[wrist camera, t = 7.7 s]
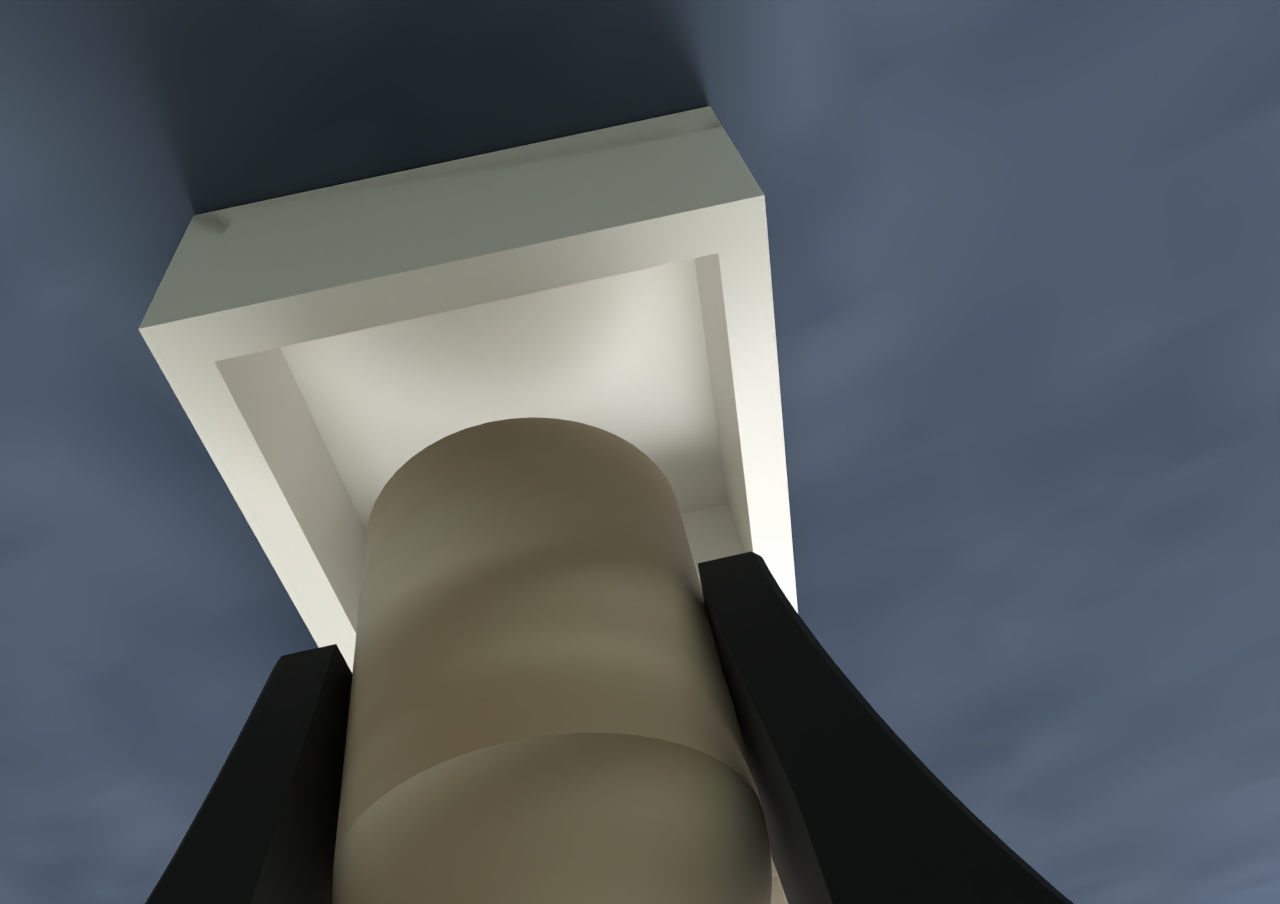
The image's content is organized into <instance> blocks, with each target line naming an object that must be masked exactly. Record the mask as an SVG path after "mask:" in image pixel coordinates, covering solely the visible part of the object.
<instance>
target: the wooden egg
mask: <svg viewBox="0 0 1280 904" xmlns="http://www.w3.org/2000/svg"><path fill="white" fill-rule="evenodd" d="M771 895H772V864H771V848H770V841H769V836H768V831H767V826H766V821H765V817H764V813H763V809H762V805H761V802H760V798H759V795H758V791H757V787H756V784H755V780H754V777H753V773H752V769H751V766H750V762H749V759H748V755H747V751H746V748H745V744H744V741H743V737H742V733H741V730H740V726H739V723H738V719H737V715H736V712H735V708H734V705H733V701H732V697H731V694H730V691H729V688H728V685H727V682H726V679H725V676H724V673H723V669H722V666H721V662H720V658H719V655H718V651H717V648H716V644H715V640H714V637H713V633H712V630H711V626H710V622H709V619H708V615H707V611H706V608H705V604H704V599H703V593H702V590H701V586H700V582H699V579H698V575H697V572H696V568H695V564H694V561H693V557H692V554H691V550H690V546H689V543H688V539H687V536H686V532H685V528H684V525H683V521H682V518H681V514H680V510H679V507H678V503H677V500H676V496H675V494H674V492H673V490H672V487H671V485H670V483H669V481H668V480H667V478H666V477H665V476H664V474H663V473H662V471H661V470H660V468H659V467H658V466H657V465H656V464H655V463H654V462H653V461H652V460H651V459H650V458H649V457H648V456H647V455H646V454H644V453H643V452H642V451H641V450H639V449H638V448H637V447H635V446H634V445H633V444H631V443H629V442H627V441H626V440H624V439H622V438H620V437H619V436H617V435H615V434H612V433H610V432H607V431H605V430H603V429H600V428H598V427H594V426H590V425H587V424H583V423H580V422H575V421H569V420H563V419H556V418H538V417H530V418H512V419H505V420H499V421H493V422H487V423H484V424H480V425H476V426H473V427H469V428H466V429H463V430H461V431H458V432H456V433H453V434H451V435H448V436H446V437H444V438H442V439H440V440H438V441H436V442H435V443H433V444H431V445H429V446H427V447H426V448H424V449H423V450H421V451H420V452H419V453H417V454H416V455H414V456H413V457H412V458H410V459H409V460H408V461H407V462H406V463H405V464H404V465H403V466H402V467H400V468H399V469H398V470H397V471H396V472H395V473H394V475H393V476H392V477H391V478H390V480H389V481H388V482H387V483H386V484H385V486H384V487H383V489H382V491H381V492H380V494H379V496H378V498H377V499H376V501H375V503H374V506H373V509H372V511H371V514H370V517H369V521H368V527H367V532H366V541H365V551H364V561H363V572H362V582H361V592H360V602H359V612H358V622H357V632H356V643H355V653H354V663H353V673H352V683H351V693H350V703H349V714H348V724H347V734H346V744H345V754H344V764H343V775H342V785H341V795H340V805H339V815H338V825H337V835H336V846H335V856H334V866H333V894H332V902H333V904H771Z"/></svg>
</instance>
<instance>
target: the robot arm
mask: <svg viewBox="0 0 1280 904" xmlns="http://www.w3.org/2000/svg"><path fill="white" fill-rule="evenodd" d="M698 569H699V575H700V581H701V587H702V593H703V599H704V604H705V608H706V611H707V615H708V619H709V622H710V626H711V630H712V633H713V637H714V640H715V644H716V648H717V651H718V655H719V658H720V662H721V666H722V669H723V673H724V676H725V679H726V682H727V685H728V688H729V691H730V694H731V697H732V701H733V705H734V708H735V712H736V715H737V719H738V723H739V726H740V730H741V733H742V737H743V741H744V744H745V748H746V751H747V755H748V759H749V762H750V766H751V769H752V773H753V777H754V780H755V784H756V787H757V791H758V795H759V798H760V802H761V805H762V809H763V813H764V817H765V821H766V826H767V831H768V836H769V841H770V848H771V857H772V859H773V862H774V865H775V868H776V871H777V873H778V876H779V879H780V882H781V885H782V887H783V890H784V893H785V896H786V899H787V901H788V904H1073V903H1072V902H1071V901H1070V900H1069V899H1067V898H1066V897H1065V896H1064V895H1062V894H1061V893H1060V892H1059V891H1058V890H1057V889H1055V888H1054V887H1053V886H1052V885H1051V884H1050V883H1049V882H1048V881H1046V880H1045V879H1044V878H1043V877H1042V876H1041V875H1040V874H1039V873H1037V872H1036V871H1035V870H1034V869H1033V868H1032V867H1031V866H1030V865H1028V864H1027V863H1026V862H1025V861H1024V860H1023V859H1022V858H1021V857H1019V856H1018V855H1017V854H1016V853H1015V852H1014V851H1013V850H1012V849H1010V848H1009V847H1008V846H1007V845H1006V844H1005V843H1004V842H1003V841H1002V840H1001V839H1000V838H999V837H998V836H997V835H995V834H994V833H993V832H992V831H991V830H990V829H989V828H988V827H987V826H986V825H985V824H984V823H983V822H982V821H981V820H979V819H978V818H977V817H976V816H975V815H974V814H973V813H972V812H971V811H970V810H969V809H968V808H967V807H966V806H965V805H964V804H963V803H962V802H961V801H960V800H959V799H958V798H957V797H956V796H955V795H954V794H953V793H952V792H951V791H950V790H949V789H948V788H947V787H946V786H945V785H944V784H943V783H942V782H941V781H940V780H939V779H938V778H937V777H936V776H935V775H934V774H933V773H932V772H931V771H930V770H929V769H928V768H927V767H926V766H925V765H924V764H923V763H922V761H921V760H920V759H919V758H918V757H917V756H916V755H915V754H914V753H913V752H912V751H911V750H910V749H909V748H908V747H907V745H906V744H905V743H904V742H903V741H902V740H901V739H900V738H899V737H898V736H897V735H896V734H895V733H894V731H893V730H892V729H891V728H890V727H889V726H888V725H887V724H886V723H885V721H884V720H883V719H882V718H881V717H880V716H879V715H878V714H877V712H876V711H875V710H874V709H873V708H872V707H871V705H870V704H869V703H868V702H867V701H866V699H865V698H864V697H863V696H862V695H861V693H860V692H859V691H858V690H857V689H856V688H855V686H854V685H853V684H852V683H851V682H850V680H849V679H848V678H847V677H846V676H845V674H844V673H843V672H842V671H841V670H840V668H839V667H838V666H837V665H836V664H835V662H834V661H833V660H832V658H831V657H830V656H829V655H828V653H827V652H826V651H825V650H824V648H823V647H822V646H821V644H820V643H819V642H818V640H817V639H816V638H815V636H814V635H813V634H812V632H811V631H810V630H809V628H808V627H807V626H806V624H805V623H804V622H803V620H802V619H801V617H800V616H799V615H798V613H797V612H796V610H795V609H794V607H793V606H792V605H791V603H790V602H789V600H788V599H787V597H786V596H785V594H784V593H783V591H782V590H781V588H780V587H779V585H778V583H777V582H776V580H775V578H774V577H773V575H772V574H771V572H770V570H769V569H768V567H767V565H766V563H765V561H764V559H763V558H762V557H761V556H760V555H758V554H756V553H754V552H752V551H751V552H746V553H742V554H737V555H733V556H728V557H724V558H719V559H715V560H710V561H706V562H701V563H698ZM351 683H352V672H351V670H350V668H349V666H348V665H347V663H346V661H345V659H344V657H343V655H342V654H341V652H340V650H339V648H338V646H337V644H333V645H329V646H324V647H320V648H315V649H311V650H306V651H302V652H297V653H293V654H288V655H284V656H281V658H280V659H279V660H278V662H277V663H276V665H275V667H274V668H273V670H272V672H271V674H270V676H269V678H268V680H267V682H266V684H265V686H264V688H263V690H262V692H261V694H260V696H259V698H258V700H257V702H256V704H255V706H254V708H253V709H252V711H251V713H250V715H249V717H248V719H247V721H246V723H245V725H244V727H243V729H242V731H241V733H240V735H239V737H238V739H237V741H236V743H235V745H234V746H233V748H232V750H231V752H230V754H229V756H228V758H227V760H226V762H225V764H224V765H223V767H222V769H221V771H220V773H219V775H218V777H217V779H216V781H215V782H214V784H213V786H212V788H211V790H210V792H209V793H208V795H207V797H206V799H205V801H204V802H203V804H202V806H201V808H200V810H199V811H198V813H197V815H196V817H195V819H194V820H193V822H192V824H191V826H190V828H189V829H188V831H187V833H186V835H185V837H184V838H183V840H182V842H181V844H180V846H179V847H178V849H177V851H176V853H175V854H174V856H173V858H172V860H171V861H170V863H169V865H168V867H167V868H166V870H165V872H164V873H163V875H162V877H161V878H160V880H159V881H158V883H157V885H156V886H155V888H154V890H153V891H152V893H151V895H150V896H149V898H148V899H147V901H146V903H145V904H333V902H332V894H333V866H334V856H335V846H336V835H337V825H338V815H339V805H340V795H341V785H342V775H343V764H344V754H345V744H346V734H347V724H348V714H349V703H350V693H351Z"/></svg>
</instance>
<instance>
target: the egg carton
mask: <svg viewBox="0 0 1280 904" xmlns="http://www.w3.org/2000/svg"><path fill="white" fill-rule="evenodd" d="M139 331H140V333H141V334H142V336H143V338H144V340H145V341H146V343H147V345H148V347H149V349H150V350H151V352H152V354H153V356H154V357H155V359H156V361H157V363H158V364H159V366H160V368H161V370H162V371H163V373H164V375H165V377H166V379H167V380H168V382H169V384H170V386H171V387H172V389H173V391H174V393H175V394H176V396H177V398H178V400H179V401H180V403H181V405H182V407H183V409H184V410H185V412H186V414H187V416H188V417H189V419H190V421H191V423H192V424H193V426H194V428H195V430H196V431H197V433H198V435H199V437H200V439H201V440H202V442H203V444H204V446H205V447H206V449H207V451H208V453H209V454H210V456H211V458H212V460H213V461H214V463H215V465H216V467H217V469H218V470H219V472H220V474H221V476H222V477H223V479H224V481H225V483H226V484H227V486H228V488H229V490H230V491H231V493H232V495H233V497H234V499H235V500H236V502H237V504H238V506H239V507H240V509H241V511H242V513H243V514H244V516H245V518H246V520H247V521H248V523H249V525H250V527H251V529H252V530H253V532H254V534H255V536H256V537H257V539H258V541H259V543H260V544H261V546H262V548H263V550H264V552H265V553H266V555H267V557H268V559H269V560H270V562H271V564H272V566H273V567H274V569H275V571H276V573H277V574H278V576H279V578H280V580H281V582H282V583H283V585H284V587H285V589H286V590H287V592H288V594H289V596H290V597H291V599H292V601H293V603H294V604H295V606H296V608H297V610H298V612H299V613H300V615H301V617H302V619H303V620H304V622H305V624H306V626H307V627H308V629H309V631H310V633H311V634H312V636H313V638H314V640H315V642H316V643H317V645H318V647H319V648H320V647H324V646H329V645H333V644H337V646H338V648H339V650H340V652H341V654H342V655H343V657H344V659H345V661H346V663H347V665H348V666H349V668H350V670H351V672H352V673H353V663H354V653H355V643H356V632H357V622H358V612H359V602H360V592H361V582H362V572H363V561H364V551H365V541H366V532H367V527H368V521H369V517H370V514H371V511H372V509H373V506H374V503H375V501H376V499H377V498H378V496H379V494H380V492H381V491H382V489H383V487H384V486H385V484H386V483H387V482H388V481H389V480H390V478H391V477H392V476H393V475H394V473H395V472H396V471H397V470H398V469H399V468H400V467H402V466H403V465H404V464H405V463H406V462H407V461H408V460H409V459H410V458H412V457H413V456H414V455H416V454H417V453H419V452H420V451H421V450H423V449H424V448H426V447H427V446H429V445H431V444H433V443H435V442H436V441H438V440H440V439H442V438H444V437H446V436H448V435H451V434H453V433H456V432H458V431H461V430H463V429H466V428H469V427H473V426H476V425H480V424H484V423H487V422H493V421H499V420H505V419H512V418H530V417H538V418H556V419H563V420H569V421H575V422H580V423H583V424H587V425H590V426H594V427H598V428H600V429H603V430H605V431H607V432H610V433H612V434H615V435H617V436H619V437H620V438H622V439H624V440H626V441H627V442H629V443H631V444H633V445H634V446H635V447H637V448H638V449H639V450H641V451H642V452H643V453H644V454H646V455H647V456H648V457H649V458H650V459H651V460H652V461H653V462H654V463H655V464H656V465H657V466H658V467H659V468H660V470H661V471H662V473H663V474H664V476H665V477H666V478H667V480H668V481H669V483H670V485H671V487H672V490H673V492H674V494H675V496H676V500H677V503H678V507H679V510H680V514H681V518H682V521H683V525H684V528H685V532H686V536H687V539H688V543H689V546H690V550H691V554H692V557H693V561H694V564H695V568H696V572H697V575H698V579H699V582H700V586H701V581H700V575H699V569H698V563H701V562H706V561H710V560H715V559H719V558H724V557H728V556H733V555H737V554H742V553H746V552H751V551H752V552H754V553H756V554H758V555H760V556H761V557H762V558H763V559H764V561H765V563H766V565H767V567H768V569H769V570H770V572H771V574H772V575H773V577H774V578H775V580H776V582H777V583H778V585H779V587H780V588H781V590H782V591H783V593H784V594H785V596H786V597H787V599H788V600H789V602H790V603H791V605H792V606H793V607H794V609H795V610H796V612H797V613H798V610H797V597H796V585H795V572H794V559H793V547H792V534H791V522H790V509H789V497H788V484H787V472H786V459H785V446H784V434H783V421H782V409H781V396H780V384H779V371H778V359H777V346H776V333H775V321H774V308H773V296H772V283H771V271H770V258H769V246H768V233H767V220H766V208H765V195H764V193H763V192H762V190H761V188H760V187H759V185H758V184H757V182H756V180H755V179H754V177H753V175H752V174H751V172H750V170H749V169H748V167H747V166H746V164H745V162H744V161H743V159H742V157H741V156H740V154H739V152H738V151H737V149H736V147H735V146H734V144H733V143H732V141H731V139H730V138H729V136H728V134H727V133H726V131H725V129H724V128H723V126H722V125H721V123H720V121H719V120H718V118H717V116H716V115H715V113H714V111H713V110H712V108H711V106H708V107H703V108H698V109H694V110H689V111H684V112H680V113H675V114H670V115H665V116H661V117H656V118H651V119H646V120H642V121H637V122H632V123H628V124H623V125H618V126H613V127H609V128H604V129H599V130H595V131H590V132H585V133H580V134H576V135H571V136H566V137H562V138H557V139H552V140H547V141H543V142H538V143H533V144H528V145H524V146H519V147H514V148H510V149H505V150H500V151H495V152H491V153H486V154H481V155H477V156H472V157H467V158H462V159H458V160H453V161H448V162H444V163H439V164H434V165H429V166H425V167H420V168H415V169H410V170H406V171H401V172H396V173H392V174H387V175H382V176H377V177H373V178H368V179H363V180H359V181H354V182H349V183H344V184H340V185H335V186H330V187H326V188H321V189H316V190H311V191H307V192H302V193H297V194H292V195H288V196H283V197H278V198H274V199H269V200H264V201H259V202H255V203H250V204H245V205H241V206H236V207H231V208H226V209H222V210H217V211H212V212H208V213H203V214H198V215H193V217H192V219H191V221H190V223H189V226H188V228H187V230H186V232H185V234H184V236H183V238H182V240H181V242H180V244H179V246H178V248H177V250H176V252H175V254H174V257H173V259H172V261H171V263H170V265H169V267H168V269H167V271H166V273H165V275H164V277H163V279H162V281H161V283H160V285H159V287H158V290H157V292H156V294H155V296H154V298H153V300H152V302H151V304H150V306H149V308H148V310H147V312H146V314H145V316H144V318H143V321H142V323H141V325H140V327H139ZM701 590H702V587H701ZM771 864H772V895H771V904H788V901H787V899H786V896H785V893H784V890H783V887H782V885H781V882H780V879H779V876H778V873H777V871H776V868H775V865H774V862H773V859H772V857H771Z"/></svg>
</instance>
